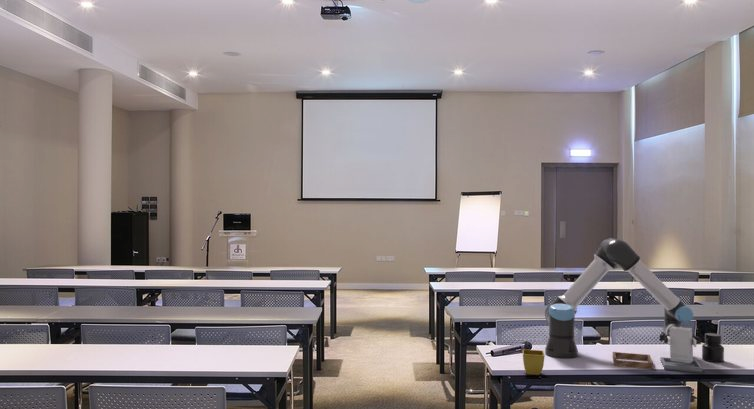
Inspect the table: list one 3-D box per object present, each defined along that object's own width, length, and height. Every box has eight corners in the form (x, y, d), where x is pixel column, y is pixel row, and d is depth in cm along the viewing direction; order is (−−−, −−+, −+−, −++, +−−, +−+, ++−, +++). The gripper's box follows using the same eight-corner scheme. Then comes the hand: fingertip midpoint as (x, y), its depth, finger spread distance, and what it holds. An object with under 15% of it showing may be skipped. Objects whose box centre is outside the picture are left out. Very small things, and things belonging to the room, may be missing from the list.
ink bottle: (729, 362, 280) (729, 336, 280) (712, 363, 278) (712, 337, 278) (713, 357, 290) (713, 332, 290) (697, 358, 288) (697, 332, 288)
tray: (664, 369, 267) (664, 364, 267) (660, 361, 281) (660, 357, 281) (702, 372, 262) (702, 368, 262) (696, 364, 276) (696, 360, 276)
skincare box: (693, 361, 271) (693, 328, 271) (689, 364, 266) (689, 330, 266) (672, 358, 276) (673, 325, 276) (669, 360, 272) (669, 327, 272)
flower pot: (544, 377, 253) (544, 355, 253) (522, 375, 255) (523, 354, 255) (543, 371, 261) (543, 350, 262) (522, 370, 263) (522, 349, 263)
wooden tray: (614, 365, 272) (614, 360, 272) (612, 357, 288) (612, 351, 288) (653, 369, 267) (653, 363, 267) (649, 360, 283) (649, 354, 283)
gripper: (701, 343, 285) (710, 353, 264) (650, 339, 292) (655, 349, 271) (701, 326, 285) (710, 336, 264) (650, 323, 292) (655, 332, 271)
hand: (682, 342), depth 267 cm, fingers closed on skincare box, 9 cm apart
